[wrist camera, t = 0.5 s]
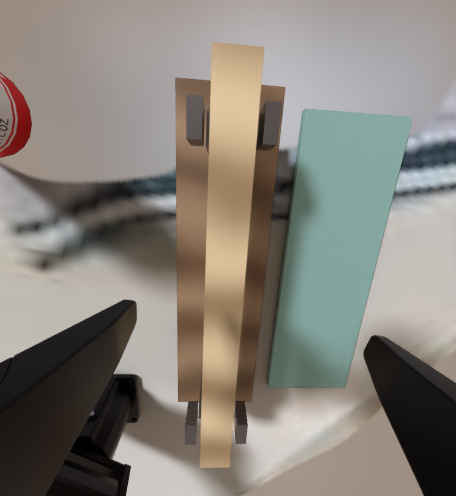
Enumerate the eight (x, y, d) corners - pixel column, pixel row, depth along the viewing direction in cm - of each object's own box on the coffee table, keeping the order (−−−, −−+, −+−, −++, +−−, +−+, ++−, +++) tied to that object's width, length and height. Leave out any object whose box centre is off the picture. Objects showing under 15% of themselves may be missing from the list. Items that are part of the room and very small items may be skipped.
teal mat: (341, 383, 26) (344, 387, 26) (267, 382, 26) (268, 387, 25) (406, 119, 19) (412, 117, 18) (302, 111, 18) (305, 108, 17)
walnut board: (249, 389, 26) (251, 401, 24) (180, 389, 25) (178, 401, 24) (279, 95, 18) (285, 87, 16) (178, 86, 17) (175, 77, 16)
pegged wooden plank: (238, 379, 23) (245, 443, 18) (193, 379, 23) (185, 444, 17) (260, 130, 17) (282, 101, 11) (197, 125, 17) (186, 94, 11)
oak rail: (228, 434, 20) (229, 467, 18) (201, 435, 20) (199, 467, 18) (255, 72, 12) (264, 47, 10) (212, 69, 12) (212, 42, 10)
